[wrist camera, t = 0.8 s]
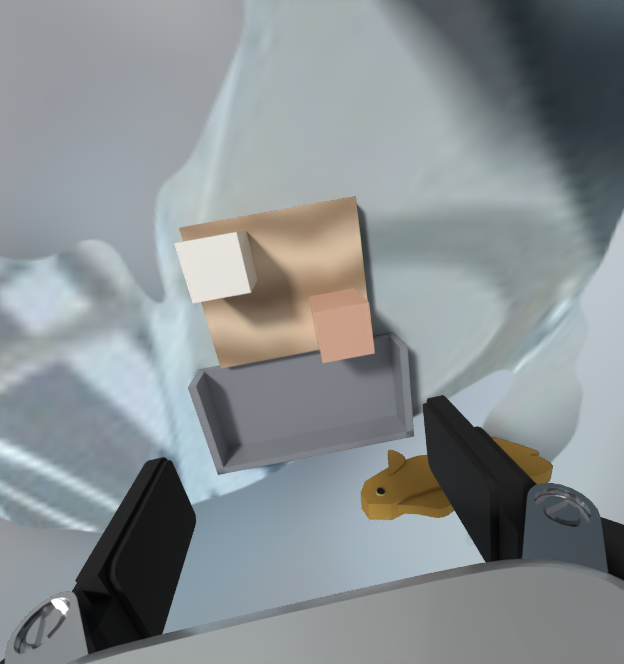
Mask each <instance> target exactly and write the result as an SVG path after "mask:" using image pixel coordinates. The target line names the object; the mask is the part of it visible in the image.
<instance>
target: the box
mask: <svg viewBox="0 0 624 664" xmlns="http://www.w3.org/2000/svg"><path fill="white" fill-rule="evenodd" d="M373 343H374V351H375V353H374V354H369V355H363V356H358V357H353V358H348V359H342V360H337V361H332V362H327V363H322V359H321V355H320V351H319V350H316V351H310V352H305V353H300V354H294V355H289V356H284V357H279V358H273V359H268V360H263V361H258V362H252V363H247V364H242V365H237V366H231V367H226V368H221V367H220V366H216V367H211V368H205V369H200V370H198V372H197V374H196V375H195V377H194V378H193V380H192V382H191V383H190V385H189V387H188V389H189V392H190V395H191V398H192V401H193V404H194V407H195V409H196V412H197V415H198V418H199V421H200V424H201V427H202V430H203V433H204V435H205V438H206V441H207V444H208V447H209V450H210V453H211V456H212V459H213V461H214V464H215V467H216V470H217V473H218V475H220V474H225V473H230V472H235V471H240V470H245V469H250V468H255V467H261V466H266V465H271V464H276V463H281V462H286V461H291V460H296V459H301V458H306V457H311V456H316V455H322V454H326V453H331V452H337V451H342V450H347V449H352V448H357V447H362V446H367V445H372V444H377V443H383V442H387V441H392V440H398V439H402V438H408V437H413V436H414V429H413V415H412V401H411V388H410V374H409V360H408V346H407V345H406V344H405V343H404V342H403V341H402V340H401V339H400V338H399V337H398V336H397V335H396V334H395V333H390V334H385V335H379V336H374V337H373Z"/></svg>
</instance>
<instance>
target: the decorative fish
mask: <svg viewBox="0 0 624 664" xmlns="http://www.w3.org/2000/svg"><path fill="white" fill-rule="evenodd" d="M491 438H492V439H493V440H494V441H495V442H496V443H497V444H498V445H499V446H500V447H501V448H502V449H503V450H504V451H505V452H506V453H507V454H508V455H509V456H510V457H511V458H512V459H513V460H514V461H515V462H516V463H517V464H518V465H519V466H520V467H521V468H522V469H523V470H524V471H525V472H526V474H527V475H528V476H529V477H530V478H531V479H532V480H533V481H534V482H535V483H536V484H537V485H538V484H541V483H548V482H549V481H550V479H551V474H552V468H553V465H552V464H551V463H550V462H548V461H547V460H545V459H543V458H541V457H538V455H539V452H538V451H536V450H534V449H531V448H528V447H525V446H522V445H519V444H516V443H513V442H509V441H506V440H502V439H499V438H494V437H491ZM388 464H389V467H388V468H387V469H385V470H383V471H382V472H380V473H378V474H377V475H375V476H373V477H372V478H370V479H368V480H367V481H365V483H364V486H363V488H362V491H361V503H362V510H363V511H364V512H365V514H366V515H367V517H368V518H369V519H372V520H393V519H395V518H396V517H399V516H400V515H402V514H420V515H425V516H429V517H437V518H440V517H445V516H447V515H449V514H450V513H451V512H453V511H454V509H453V507H452V505H451V504H450V502H449V500H448V499H447V497H446V495H445V493H444V492H443V490H442V488H441V487H440V485H439V483H438V482H437V480H436V478H435V477H434V475H433V473H432V472H431V469H430V467H429V463H428V456H427V455H422V456H416V457H413V458H410V459H407V460H406V459H405V457H404V456H403V455H402V454H400V453H398V452H396V451H393V450H389V451H388Z"/></svg>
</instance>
